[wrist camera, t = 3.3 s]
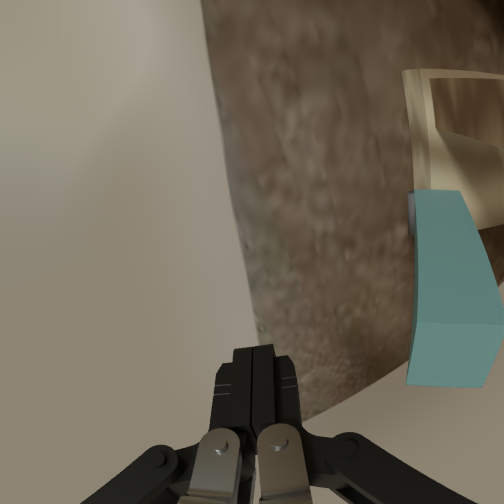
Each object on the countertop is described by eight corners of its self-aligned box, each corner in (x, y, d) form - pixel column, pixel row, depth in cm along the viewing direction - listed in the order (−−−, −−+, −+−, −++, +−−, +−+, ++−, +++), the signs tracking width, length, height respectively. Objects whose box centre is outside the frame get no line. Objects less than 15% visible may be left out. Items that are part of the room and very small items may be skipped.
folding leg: (407, 188, 20) (403, 321, 10) (459, 189, 18) (507, 325, 8) (408, 232, 22) (394, 383, 11) (457, 234, 20) (481, 387, 9)
